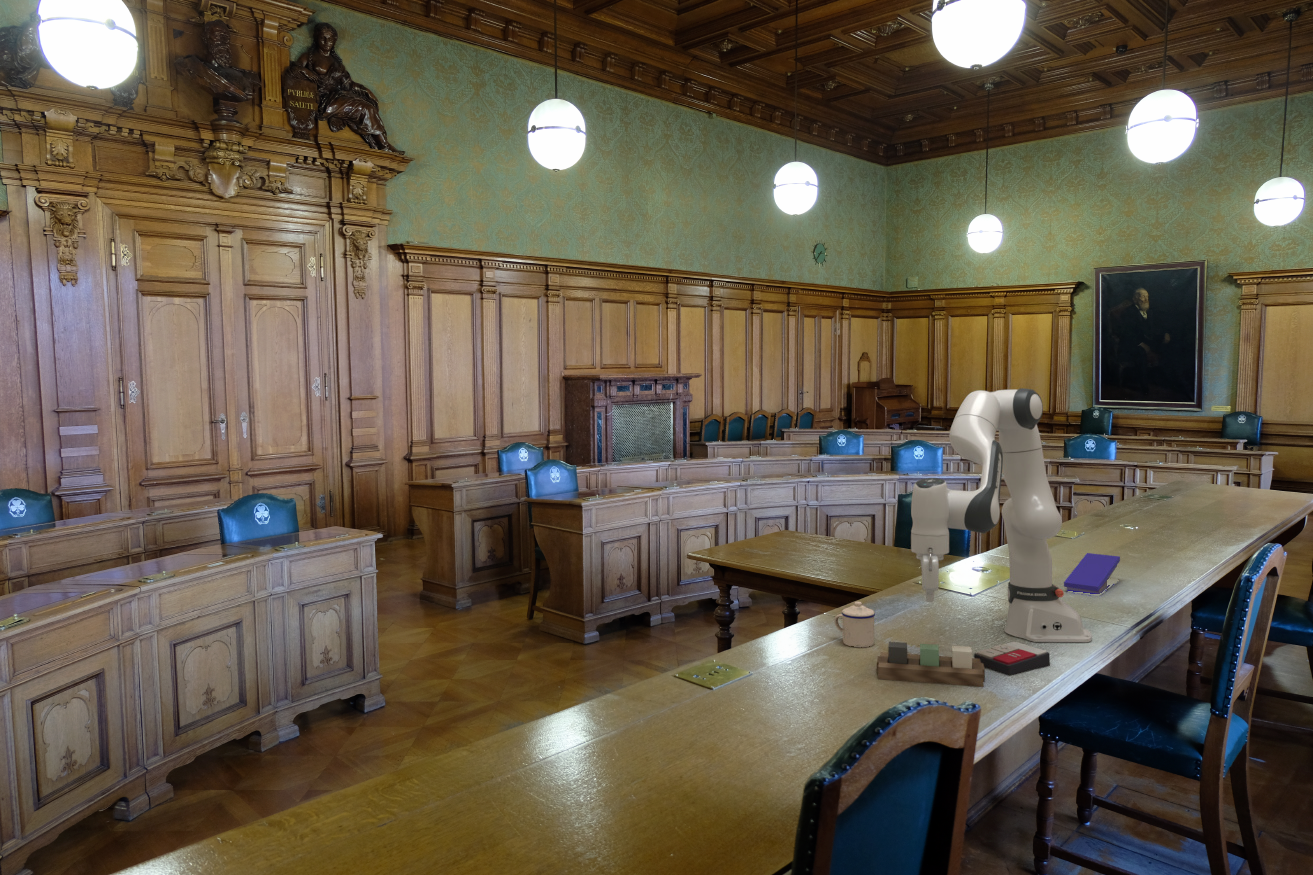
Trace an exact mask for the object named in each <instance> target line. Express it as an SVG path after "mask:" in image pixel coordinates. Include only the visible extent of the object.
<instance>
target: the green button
mask: <svg viewBox="0 0 1313 875" xmlns="http://www.w3.org/2000/svg"><path fill="white" fill-rule="evenodd" d="M939 648H940V646H939V644H935V643H933V644H931V643H919V655H920V665H923V666H937V667H939V656H940V649H939Z"/></svg>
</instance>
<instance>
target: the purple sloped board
mask: <svg viewBox="0 0 1313 875" xmlns="http://www.w3.org/2000/svg"><path fill="white" fill-rule="evenodd" d="M1120 562H1121V556H1119V555H1108V554H1099V553H1091V552H1087V553H1085V555H1084V556H1083V558H1082V559H1081V560H1080V561H1079V562H1078V564H1077V565H1076V566H1075V568H1074V569H1073V570H1072V571H1071V573H1070V574H1069V575H1068V576H1067V578H1066V579H1065V581H1063V586H1064V588H1066V592H1067V591H1073V592H1083V593H1090V594H1100V593H1102V592H1103V591H1104V590H1105V589H1107V588H1108V587H1109V586H1110V585H1108V586H1107V580H1108V579H1109V578H1111V576H1112V575H1113V573H1114V571H1115V570H1116V569H1117V567H1118V564H1120Z"/></svg>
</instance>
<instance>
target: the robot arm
mask: <svg viewBox="0 0 1313 875" xmlns="http://www.w3.org/2000/svg"><path fill="white" fill-rule="evenodd" d="M1043 405H1044V404H1043V400H1042V397H1041V396H1040V394H1038V393H1037V392H1036V391H1035V390H1034V389H1031V388H1019V389H999V390H995V391H988V390H974V391H972V392H970V393H968V395H966V397H965V398H964V400H963V401H962V403H961V405H960V406H959V408H958V410H957V412H956V414H955V417H954V419H953V422H952V424H951V427H950V429H949V443H950V445H951V447H952V450H954V451H955V452H956V453H957V454H958V455H960V456H961V457H962V458H963V459H965V460H968V461H970V462H973V463H976V464H977V465H979V466H982V469H981V477H980V483H979V484H980V485H979V488H978V489H976V490H972V491H970V490H969V491H968V490H958V489H956V490H955V489H950V488H948V485H947V482H946V480H944V479H943V478H940V477H939V478H938V477H928V478H927V477H926V478H921V479H919V480H917V481H915V482H914V484H913V488H912V489H913V490H912V494H911V504H910V508H911V509H910V510H911V513H910V514H911V518H912V519H911V520H912V527H911V530H910V532H911V534H910V545H911V546H910V551H911V552H912V553H913V554H914V553H915V554H916V559H917V560H920V567H921V586H922V590H923V591H925V601H926V602H928V603H933V602H935V601H934V600H935V592H936V591H938V590H939V588H940V586H939V584H940V583H939V582H940V580H939V578H940V576H939V574H940V573H939V567H940V566H939V564H940V562H939V561H943V560H944V559H945V558H944V555H947V554H949V553H950V530H949V529H954V530H955V529H956V530H963V531H964V530H965V531H969V532H974V533H979V534H986V533H988V532H990V531H991V530H992V529H994V528H995V527H996V526H997V525H998V524H999V520H1000V512H1001V516H1002V519H1003V521H1004V522H1003V523H1004V530H1005V537H1006V542H1007V547H1008V548H1007V550H1008V555H1009V558H1008V559H1009V582H1008V583H1007V585H1008V586H1007V600H1008V608H1007V617H1006V622H1005V626H1004V628H1003V631H1004V632H1005V633H1006V634H1008V635H1011V636H1014V637H1015V638H1017V637H1018V638H1020V639H1024V640H1027V641H1030V642H1034V643H1089V642H1091V641H1092V640H1093V636H1092V633H1091V631H1090V630H1089V629H1087V628H1086V627H1084V626H1083V621H1082V618H1081V615H1080V614H1079V613H1078V611H1076V609H1074V608H1073V607H1072V606H1070V605H1069V604H1068V603H1067V602H1065V601H1064V600H1062V599H1061V598H1063V596H1065V593H1064V591H1063V590H1062V589H1061V588H1059V587H1058V586H1057V585H1054V584H1053V557H1052V554H1051V552H1050V549H1049V544H1048V540H1049V539H1051V538H1054V537H1055V536H1056V535H1058V533H1059V532H1060V531H1061V529H1062V525H1063V520H1062V517H1061V516H1062V515H1061V514H1060V512H1059V510H1058V508H1057V506H1056V501H1055V499H1054V496H1053V493H1052V489H1051V486H1050V483H1049V480H1048V476H1047V470H1046V464H1045V457H1044V452H1043V450H1044V449H1043V445H1042V440H1041V435H1040V431H1039V428H1038V424H1039V422H1040V420H1041V419H1042V417H1043V412H1044V406H1043ZM997 432H998V441H997V440H996V438H995V437H996V434H997ZM1002 477H1003V481H1004V482H1005V485H1006V487H1007V489H1008V492H1009V495H1010V498H1008V499H1006V500H1005V502H1004V503H1003V505H1002V507H1001V511H1000V496H1001V485H1002Z"/></svg>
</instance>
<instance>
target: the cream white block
mask: <svg viewBox="0 0 1313 875" xmlns="http://www.w3.org/2000/svg"><path fill="white" fill-rule="evenodd" d="M951 657H952V668H965V669H972V658H973V651H972V647H971V646H967V645H966V646H963V645H951Z"/></svg>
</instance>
